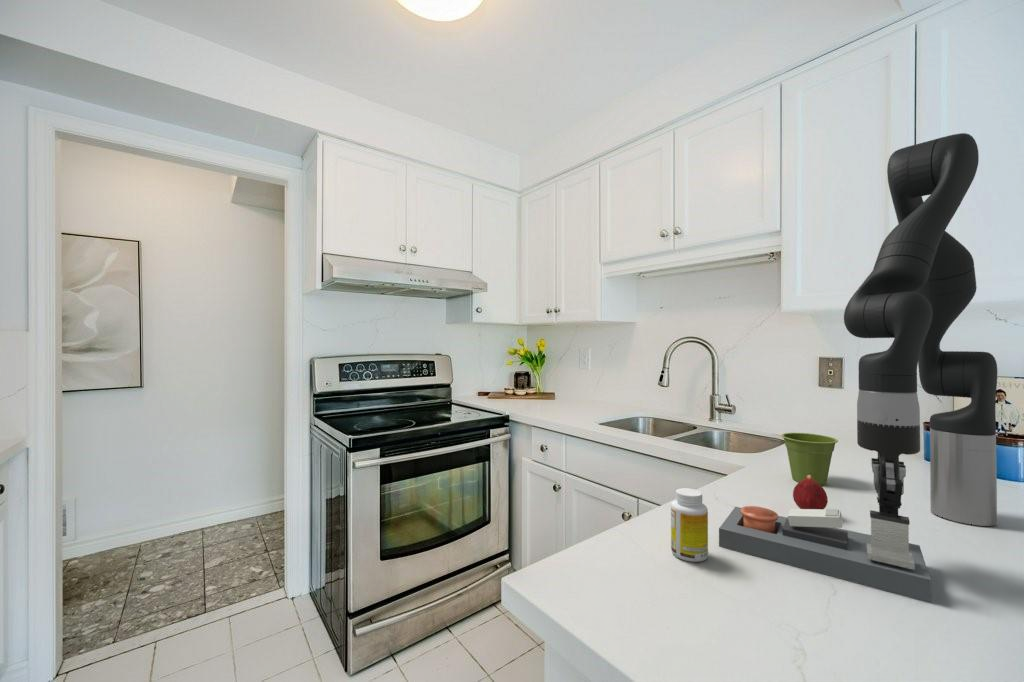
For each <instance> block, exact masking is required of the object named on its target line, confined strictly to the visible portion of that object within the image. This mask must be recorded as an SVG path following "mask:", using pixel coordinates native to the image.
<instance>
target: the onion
mask: <svg viewBox="0 0 1024 682" xmlns="http://www.w3.org/2000/svg"><path fill="white" fill-rule="evenodd" d="M792 497H793V498H792V499H793V501H794V502H795V505H796V506H797V508H798V509H823V510H825V509H826V507H827V505H828V498H829V497H828V496H827V491H826V490H825V489H824V488H823V485H820V484H818V483H817V482H815V481H814V480H813V477H812V476H811V475H808V476H807V478H806V479H805V480H803V481H801V482H797V483H796V485H795V486H794V488H793V490H792Z"/></svg>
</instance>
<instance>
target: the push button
mask: <svg viewBox="0 0 1024 682" xmlns="http://www.w3.org/2000/svg"><path fill="white" fill-rule="evenodd" d="M740 508H741V514H742V515H743V516H744V527H748V528H752V529H756V530H760V531H765V532H769V533H773V534H775V521H777V520H778V516H779V513H777V512H776V511H774V510H772V509H769V508H766V507H761V506H758V505H757V506H755V505H746V506H742V507H740Z"/></svg>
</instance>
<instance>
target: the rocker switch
mask: <svg viewBox="0 0 1024 682" xmlns="http://www.w3.org/2000/svg"><path fill="white" fill-rule="evenodd" d="M787 518H788V520H789V525H790V526H803V527H829V528H840V529H843V522H844V520H843V516H842V511H841V509H838V508H825V509H800V508H790V509H789V511H788V514H787Z"/></svg>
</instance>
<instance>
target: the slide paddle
mask: <svg viewBox="0 0 1024 682" xmlns="http://www.w3.org/2000/svg"><path fill="white" fill-rule="evenodd" d="M869 514H870V515H869V517H870V535H871V544H868V543H867V559H871V560H875V561H879V562H883V563H888V564H892V565H896V566H900V567H905V568H909V569H913V570H915V563H914V560H913V556H912V553H909V542H910V541H909V540H910V539H909V538H910V537H909V534H910V533H909V526H910V518H909V516H903V515H899V514H898V515H894V514H888V513H883V512H879V511H877V510H872V509H870V510H869Z"/></svg>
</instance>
